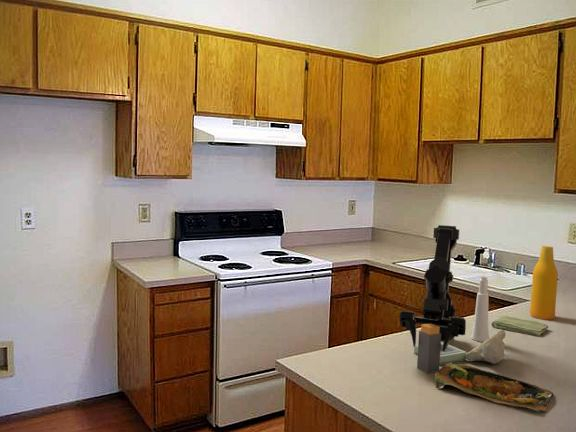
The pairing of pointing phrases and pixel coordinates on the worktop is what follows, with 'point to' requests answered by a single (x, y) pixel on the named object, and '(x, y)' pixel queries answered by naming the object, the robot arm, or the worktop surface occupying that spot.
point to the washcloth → (519, 325)
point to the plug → (429, 348)
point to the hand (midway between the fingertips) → (428, 348)
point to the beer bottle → (544, 286)
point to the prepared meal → (493, 386)
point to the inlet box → (448, 354)
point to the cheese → (489, 349)
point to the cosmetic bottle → (481, 313)
